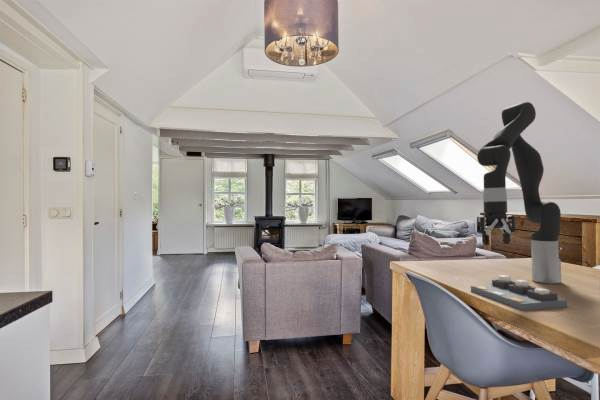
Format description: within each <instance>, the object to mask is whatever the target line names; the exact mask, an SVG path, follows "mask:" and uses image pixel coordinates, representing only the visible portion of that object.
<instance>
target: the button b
mask: <svg viewBox="0 0 600 400" xmlns="http://www.w3.org/2000/svg"><path fill="white" fill-rule="evenodd" d="M514 282H515V286H516V287H519V288H529V286H530V283H529V281H528V280H526V279H515V281H514Z"/></svg>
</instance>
